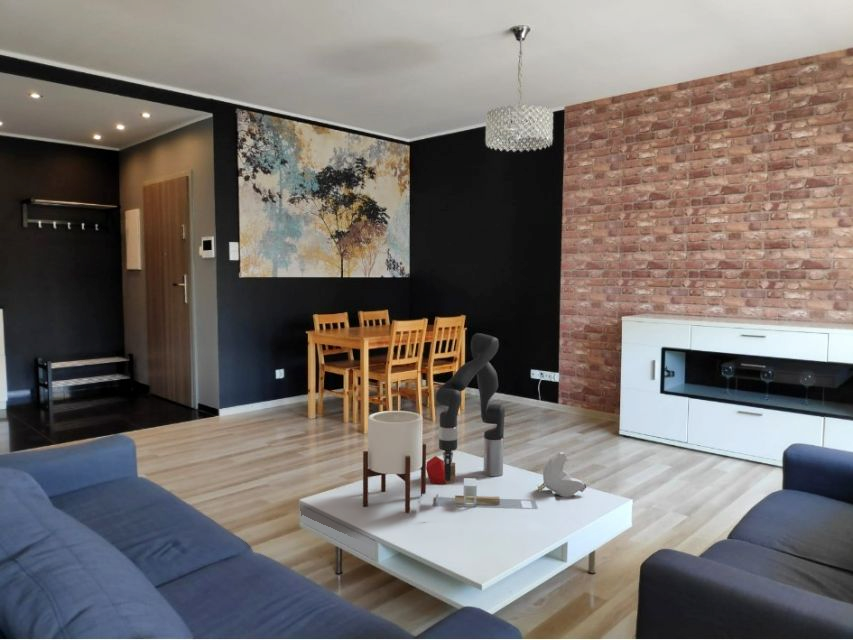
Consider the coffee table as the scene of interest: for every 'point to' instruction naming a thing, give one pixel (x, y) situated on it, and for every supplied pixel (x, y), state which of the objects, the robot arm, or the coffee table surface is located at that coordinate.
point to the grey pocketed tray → (471, 490)
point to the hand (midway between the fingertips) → (447, 478)
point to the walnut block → (451, 474)
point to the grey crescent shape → (560, 478)
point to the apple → (436, 471)
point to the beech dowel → (478, 499)
